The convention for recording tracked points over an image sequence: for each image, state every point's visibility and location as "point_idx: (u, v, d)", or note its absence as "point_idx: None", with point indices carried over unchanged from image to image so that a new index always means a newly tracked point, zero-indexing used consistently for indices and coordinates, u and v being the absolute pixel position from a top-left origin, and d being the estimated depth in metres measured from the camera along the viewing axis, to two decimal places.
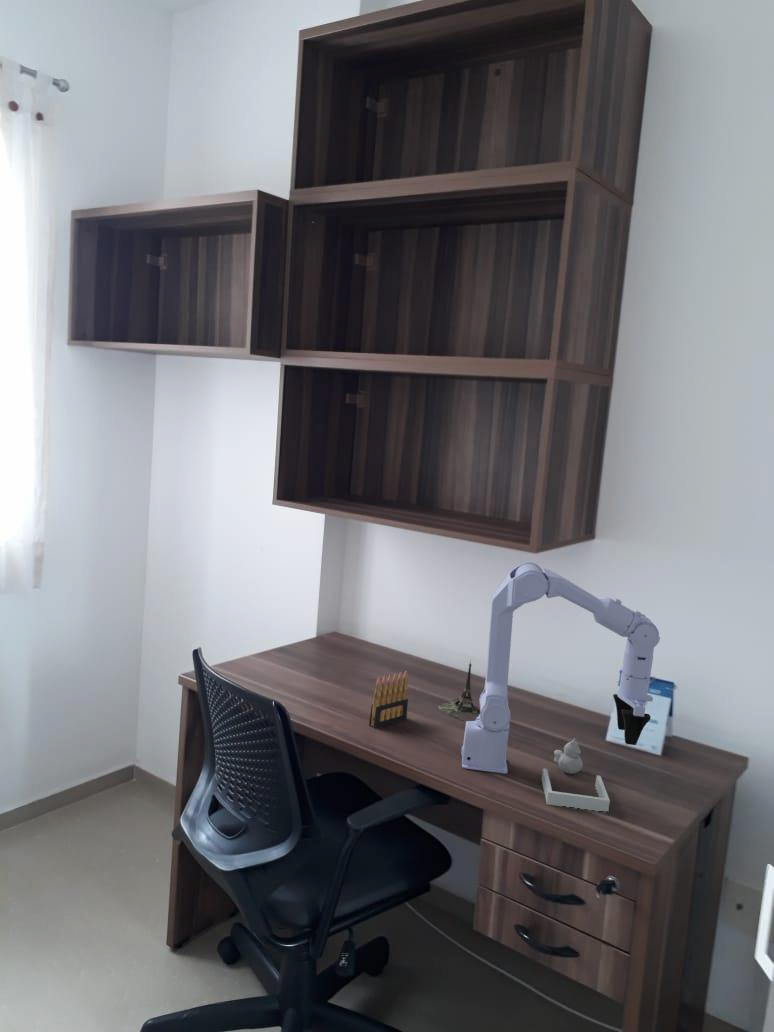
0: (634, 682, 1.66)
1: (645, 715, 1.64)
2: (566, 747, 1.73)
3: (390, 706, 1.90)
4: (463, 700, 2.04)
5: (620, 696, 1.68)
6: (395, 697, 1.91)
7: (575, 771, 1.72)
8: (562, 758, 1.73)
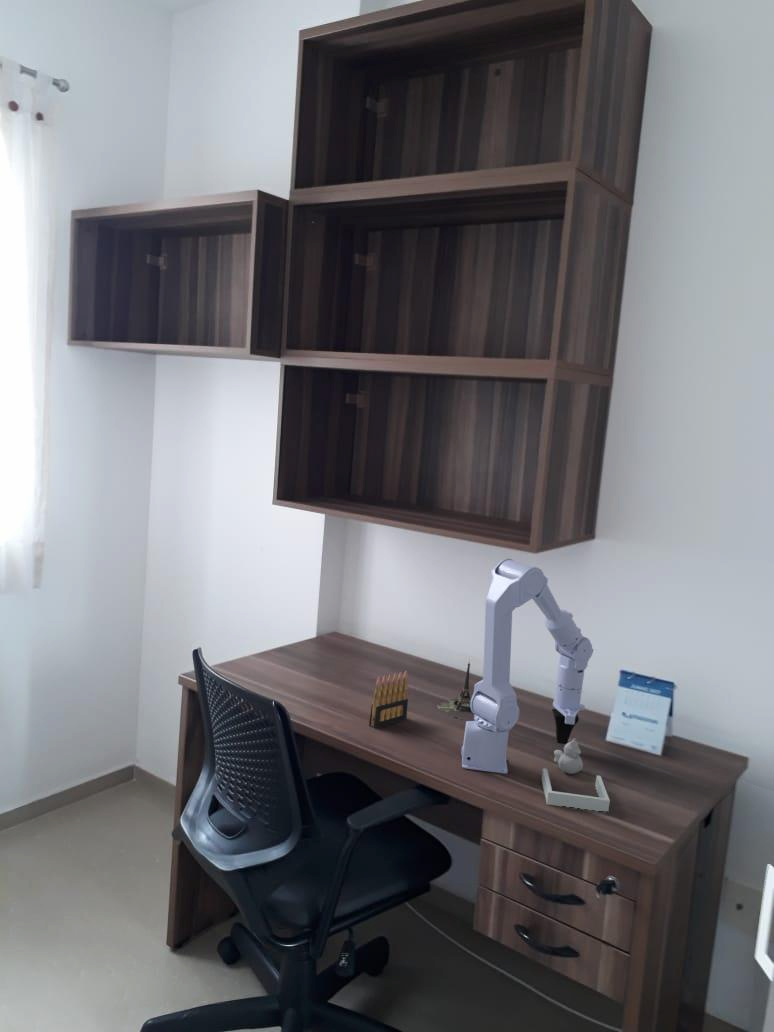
0: (566, 693, 1.81)
1: None
2: (566, 747, 1.73)
3: (390, 706, 1.90)
4: (462, 700, 2.04)
5: (554, 705, 1.83)
6: (395, 697, 1.91)
7: (575, 771, 1.72)
8: (562, 758, 1.73)
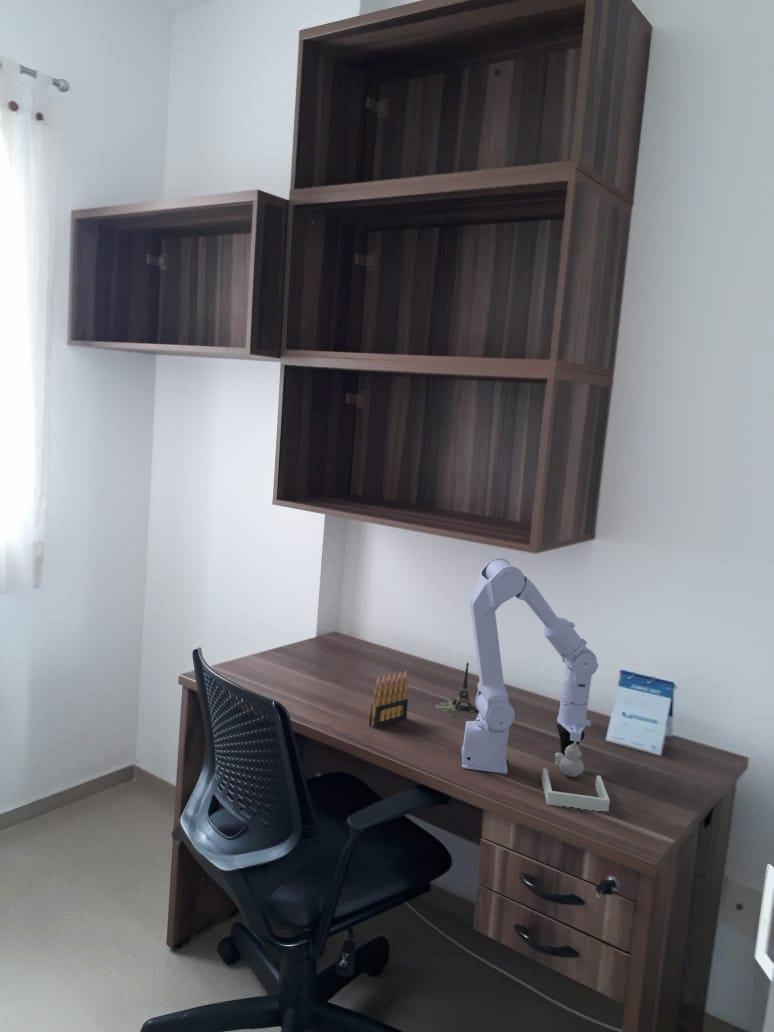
0: (572, 708, 1.72)
1: None
2: (567, 750, 1.71)
3: (390, 706, 1.90)
4: (460, 699, 2.04)
5: (559, 721, 1.74)
6: (395, 697, 1.91)
7: (576, 774, 1.70)
8: (563, 761, 1.71)
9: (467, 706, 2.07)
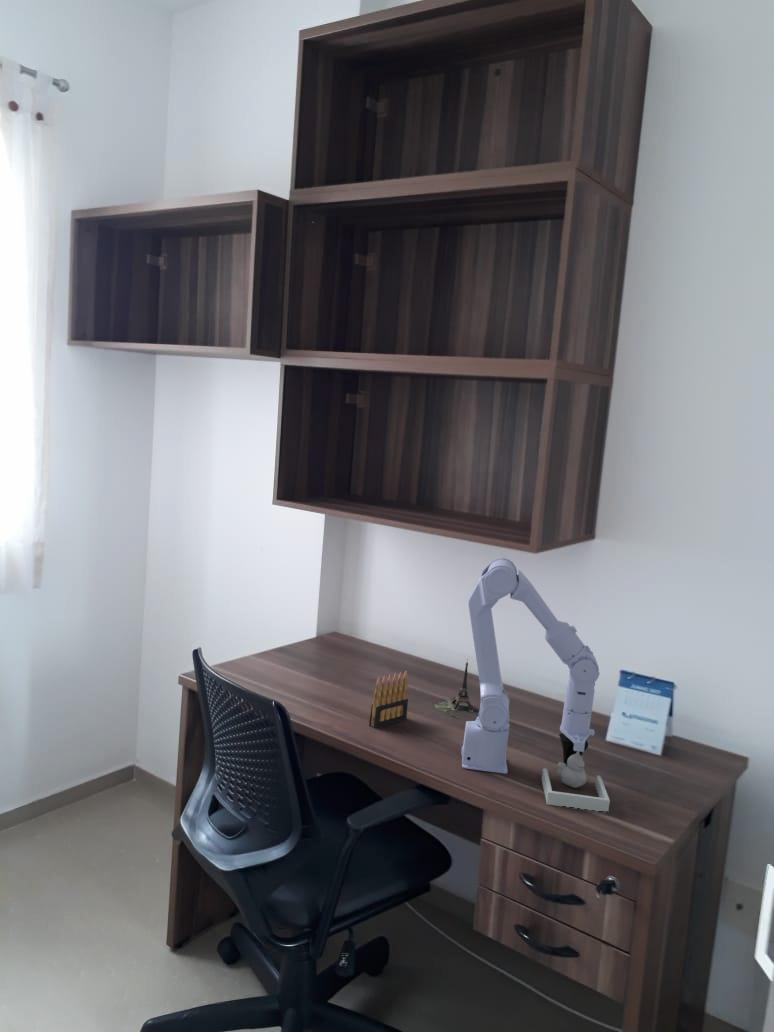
0: (575, 717, 1.67)
1: None
2: (569, 760, 1.66)
3: (390, 706, 1.90)
4: (460, 699, 2.04)
5: (562, 730, 1.69)
6: (395, 697, 1.91)
7: (578, 785, 1.65)
8: (565, 771, 1.66)
9: (466, 706, 2.07)
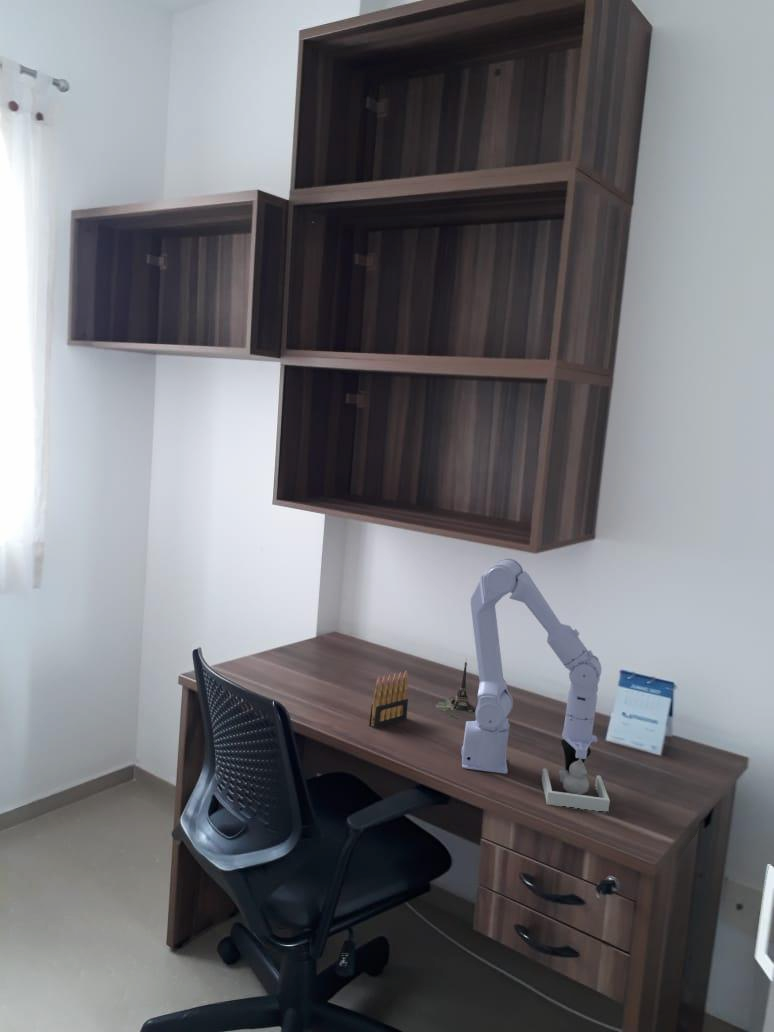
0: (577, 723, 1.63)
1: None
2: (571, 767, 1.63)
3: (390, 706, 1.90)
4: (459, 699, 2.04)
5: (564, 737, 1.65)
6: (395, 697, 1.91)
7: (580, 793, 1.62)
8: (567, 778, 1.63)
9: (466, 706, 2.07)
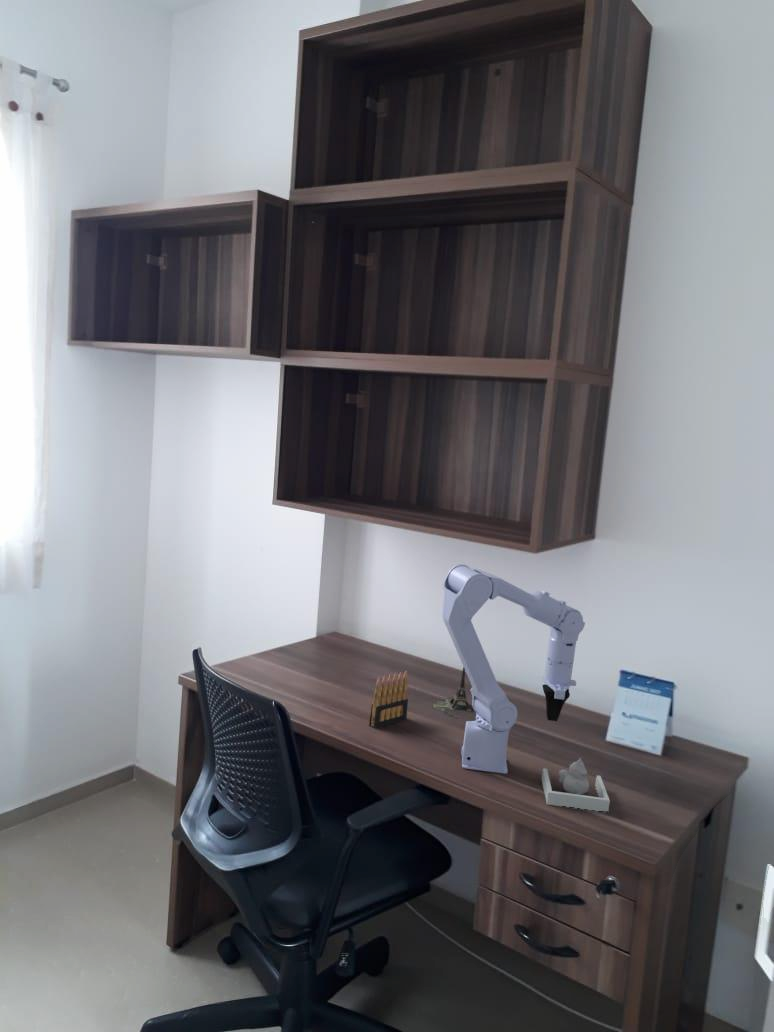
0: (557, 667, 1.73)
1: (565, 693, 1.75)
2: (571, 767, 1.63)
3: (390, 706, 1.90)
4: (457, 698, 2.05)
5: (544, 680, 1.75)
6: (395, 697, 1.91)
7: (580, 793, 1.62)
8: (567, 778, 1.63)
9: (464, 705, 2.07)
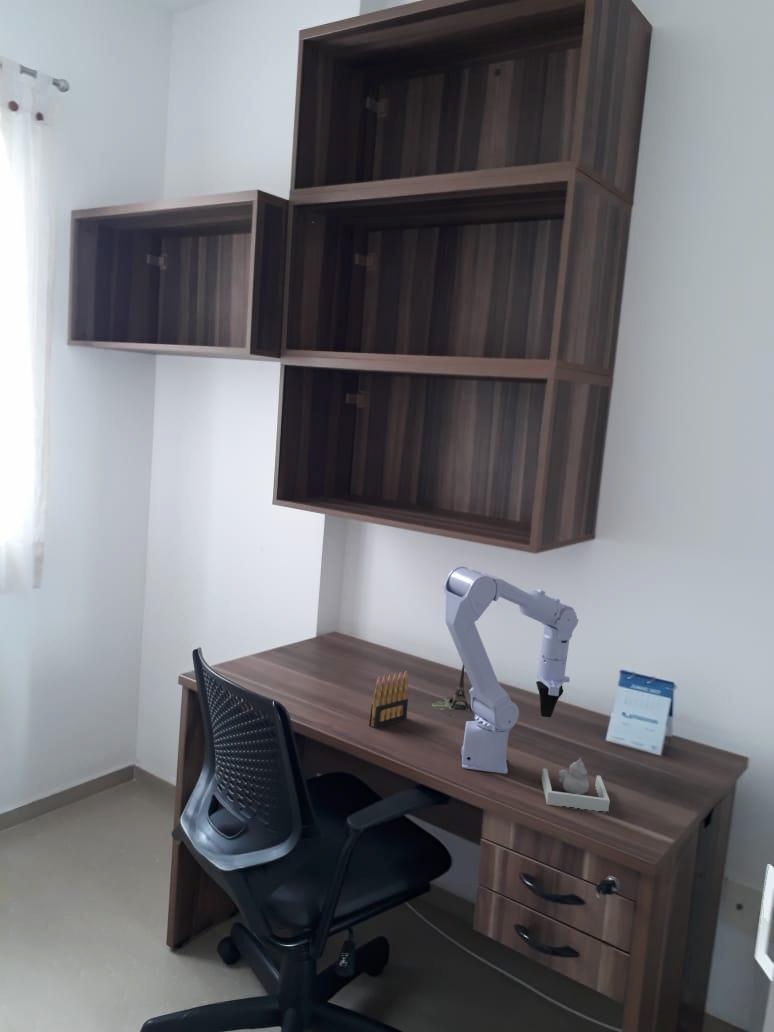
0: (551, 664, 1.75)
1: (558, 689, 1.77)
2: (571, 767, 1.63)
3: (390, 706, 1.90)
4: (456, 698, 2.05)
5: (538, 677, 1.77)
6: (395, 697, 1.91)
7: (580, 793, 1.62)
8: (567, 778, 1.63)
9: (463, 705, 2.07)
